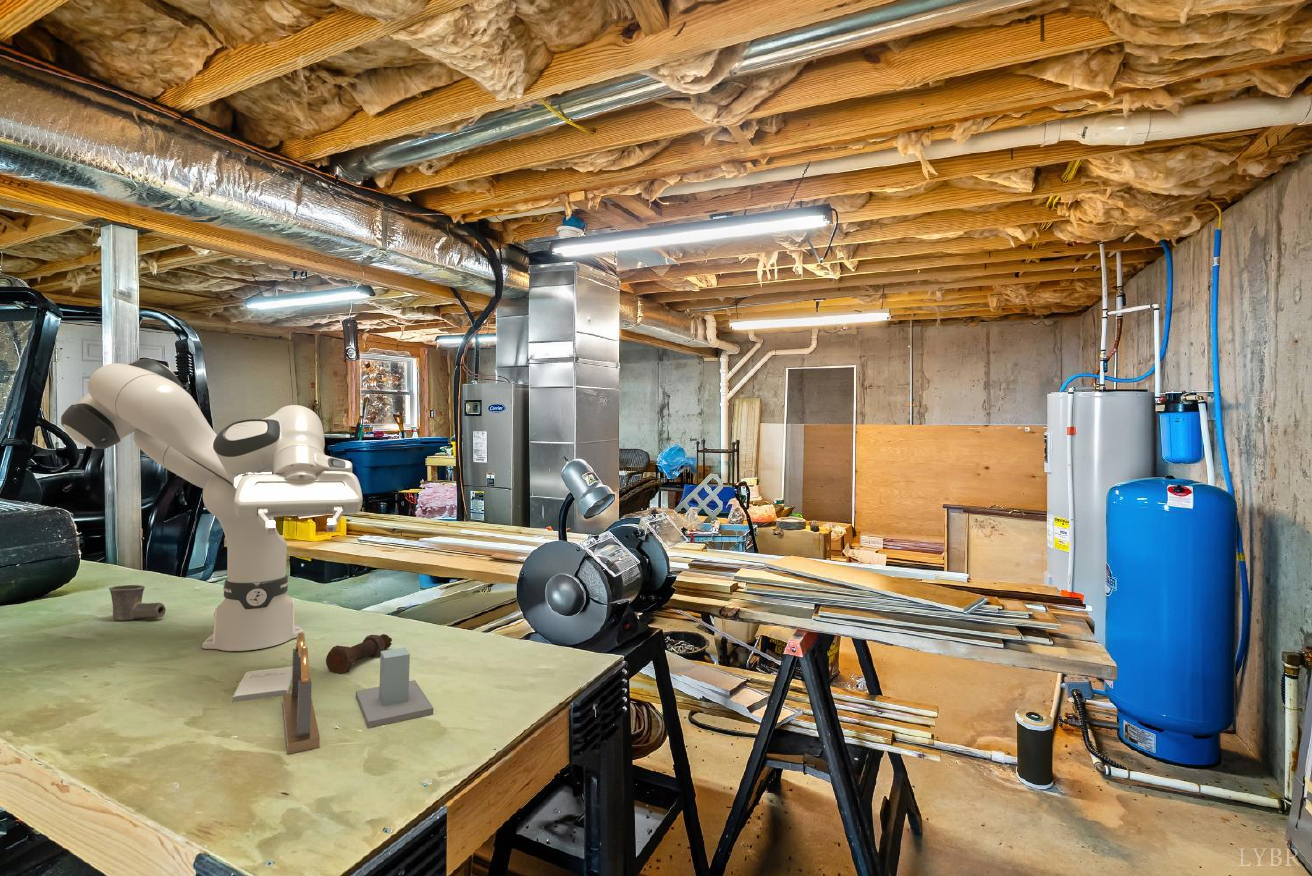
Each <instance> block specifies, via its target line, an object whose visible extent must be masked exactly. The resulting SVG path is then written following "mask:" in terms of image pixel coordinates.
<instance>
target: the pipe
mask: <svg viewBox="0 0 1312 876" xmlns="http://www.w3.org/2000/svg"><path fill="white" fill-rule="evenodd" d="M108 589H109V592H110V596H111V604H112V618H113V620H115V621H119V622H120V621H129V620H149V619H150V620H151V619H152V620H153V619H160V618H163V617H164V616H165V614H166V612H167V611H166V610H167V609H166V607H165V604H163V603H161V602H149V603H147V602H146V603H144V602H142V601H143V595H144V590H145V586H144V585H141V584H140V585H139V584H125V585H115V586H111V587H109V588H108Z"/></svg>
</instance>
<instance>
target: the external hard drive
mask: <svg viewBox="0 0 1312 876" xmlns="http://www.w3.org/2000/svg"><path fill="white" fill-rule="evenodd" d="M237 686H238V687H237V688H236V690H235V692H234V694H233V695H232V699H231V700H232V701H231V702H232V703H235V702H242V701H250V700H258V699H264V698H265V699H267V698H272V697H273V698H274V697H281V696H282V697H283V695H284V694H289V692H290V687H291V686H292V666H284V667H277V668H268V669H258V670H250V671H246V672H245V673H244V675H243V676H242V679H241V681H240V682H239V684H238V685H237Z"/></svg>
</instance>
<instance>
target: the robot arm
mask: <svg viewBox="0 0 1312 876" xmlns="http://www.w3.org/2000/svg"><path fill="white" fill-rule="evenodd" d="M87 390H88V392H87V393H86V394H85V395H84V396H82V397H81V398H80V399H79V400H78V401H77V402H76V403H75V404H71V405H70V406H68V407H67V408H66V410H65V411H64V412H63V413H62V414H61V417H60V424H61V426H62V427H63V428H64V430H65V431H66V433H67V434H68V436H69V437H70V438H72V439H73V440H74V441H75V442H77V443H79V444H81V445H84V446H87V447H90V448H93V449H97V450H98V449H99V450H106V449H108V448H111V447H113V446H115V445H117V444H118V443H121V441H122V439H124V438H126V437H127V436H129V435H131V434H132V433H133V441H134V443H135V445H136V446H137V447H138V449H140V451H142V452H143V454H145V455H146V456H148V457H149V458H150V459H151V460H152V461H154V462H155V463H157V464H158V465H160V466H161V467H163V468H164V469H165V470H168V471H169V472H171V473H173V474H175V475H176V476H177V477H180V478H182V479H183V480H185V481H187V482H189V483H190V484H192V485H195V486H196V487H199V488H201V489H203V490H202V501H203V504H204V506H205V508H206V510H207V512H209V513H211V514H212V515H213V516H214V517H215V518H216V519H217V521H218V522H219V524H220V526H221V528H222V531H223V533H224V537H225V540H226V548H227V549H226V550H227V552H226V553H227V556H226V557H227V568H226V572H227V575H226V579H225V580H224V582H223V583H224V585H223V589H222V590H223V597H224V599H223V601H222V602H221V603H220V604H219V605H218V606H217V607H215V609H214V612H213V619H214V620H213V626H212V630H213V632H212V633H211V634H210V635H209V636H208V637H207V638H206V639H205V640H204V641H203V642H202V645H201V648H202V649H205V650H206V649H207V650H208V649H209V650H211V649H212V650H213V649H214V650H221V651H227V652H244V651H252V650H259V649H260V650H261V649H266V648H270V647H274V646H278V645H281V644H283V643H286V642H288V641H290V640H293V639H297V635H298V633H300V632H303V633H304V629H302V628H301V627H300V626H299V625H297V624H295V623H296V621H295V620H296V618H295V617H296V616H295V615H296V614H295V613H296V612H295V611H296V610H295V609H296V607H295V606H296V605H295V603H296V602H295V599H293V598H292V597H291V596H289V594H288V593H287V592H288V590H289V576H288V575H287V556H288V555H287V554H288V553H287V552H288V550H287V548H288V544H287V541H286V539H285V538H284V537H283V536H282V535H281V534H280V533H279V531H278V529H277V527H276V520H274V519H275V518H274V517H293V516H322V515H324V516H325V515H332V518H327V520H326V532H337V526H338V525H337V524H338V522H339V521H340V520H341V519H342V515H347V514H348V515H349V514H351V515H353V514H358V512H359V511H361V510H362V505H363V498H364V497H363V493H362V488H361V484H360V481H359V479H358V477H357V475H355V474H354V473H353V463H352V462H351V461H349V460H346V459H341V458H337V457H333V456H329V455H326V454H325V453H324V449H325V446H326V443H325V441H326V439H325V432H324V428H323V424H322V420H321V419H320V417H319V416H318V414H316V412H314V411H313V410H312V409H311V408H308V407H306V406H303V405H298V404H289V405H286V406H285V405H284V406H283V407H281V408H279V409H278V410H277V411H275V412H274V413H273V414H271V415H270V416H267V417H264V418H259V419H258V418H251V419H244V420H238V421H234V422H232V423H229V424H228V425H227V426H225V427H224V428H222V429H221V430H220V432H219V433H218V434H217V433H216V432H215V431H214V429H213V428H212V427H211V425H210V424H209V422H208V420H207V419H206V417H205V416H204V414H203V412H202V411H201V409H200V407H199V405H198V404H197V402H196V401H195V399H194V398H193V396H192V395H191V394H189V392H188V391H186V390H185V389H184V388H183V387H182V384H181V381H180V380H179V378H178V376H176V373H175V372H174V371H173V370H172V369H170V367H167V366H166V365H165V364H162V363H160V362H158V361H157V360H155V359H150V358H141V359H138V360H136V361H133V362H131V363H129V364H126V363H118V362H117V363H115V362H114V363H109V364H105V365H102V366H100V367H99V368H97V369H96V370H95V371H93V373H91V376H90V377H89V379H88V382H87Z"/></svg>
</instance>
